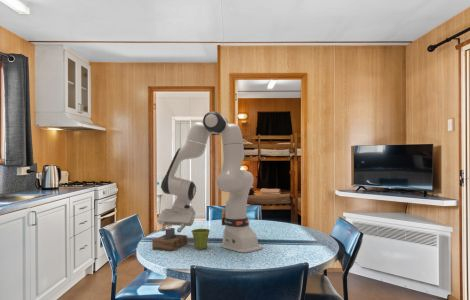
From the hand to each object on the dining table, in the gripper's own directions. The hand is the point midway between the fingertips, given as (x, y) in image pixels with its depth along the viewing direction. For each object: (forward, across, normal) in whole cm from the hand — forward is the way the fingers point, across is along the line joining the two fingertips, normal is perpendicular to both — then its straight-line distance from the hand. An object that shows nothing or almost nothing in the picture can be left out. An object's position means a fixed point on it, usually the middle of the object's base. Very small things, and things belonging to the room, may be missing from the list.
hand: (170, 231), depth 168 cm
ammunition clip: (-37, +9, +49) cm, 62 cm away
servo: (+5, 0, +5) cm, 7 cm away
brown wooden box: (+6, 0, +6) cm, 8 cm away
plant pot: (+4, +16, +8) cm, 18 cm away
